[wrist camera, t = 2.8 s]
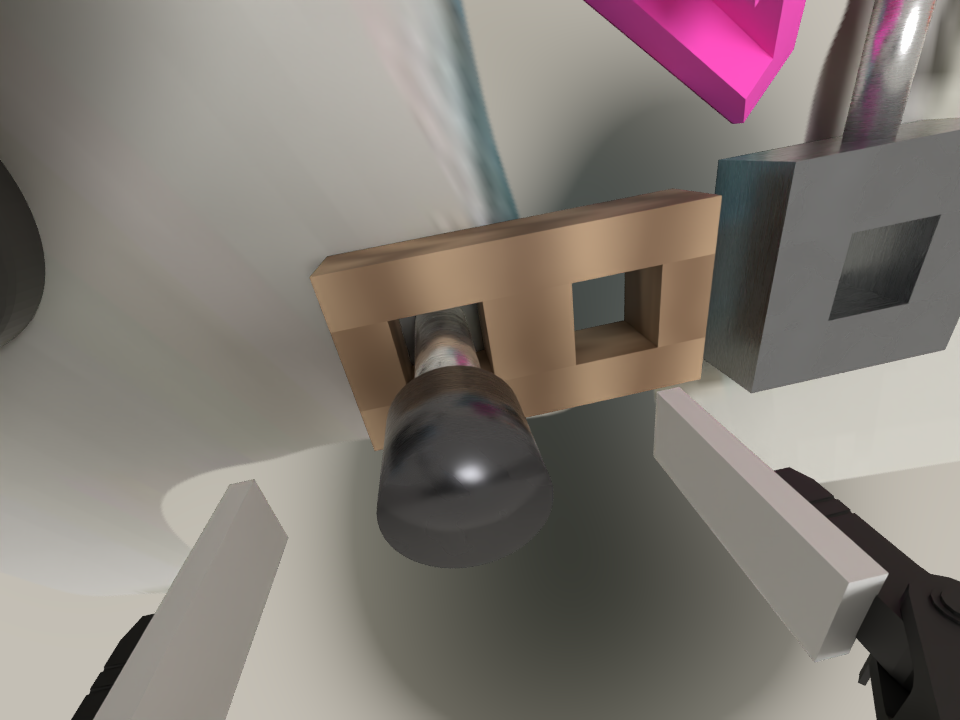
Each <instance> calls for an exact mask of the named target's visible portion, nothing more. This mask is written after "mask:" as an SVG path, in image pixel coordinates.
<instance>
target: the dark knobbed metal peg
mask: <svg viewBox="0 0 960 720" xmlns="http://www.w3.org/2000/svg"><path fill="white" fill-rule="evenodd" d="M552 504H553V485H552V481H551V479H550V476H549V474H548V471H547V469H546V467H545V464H544V461H543V459H542V457H541V454H540V452H539V449H538V447H537V445H536V442H535V440H534V437H533V435H532V432H531V430H530V428H529V425H528V423H527V420H526V418H525V415H524V413H523V411H522V408H521V406H520V403H519V401H518V398H517V396H516V395H515V393H514V391H513V390H512V389H511V387H510V386H509V385H508V384H507V383H506V382H505V381H504V380H503V379H501V378H500V377H498V376H497V375H495V374H493V373H491V372H489V371H487V370H484V369H481V368H480V364H479V361H478V358H477V354H476V351H475V348H474V344H473V341H472V338H471V334H470V331H469V328H468V324H467V321H466V318H465V315H464V312H463V311H462V309H461V308H460V307H454V308H449V309H444V310H439V311H434V312H430V313H425V314H420V315H416V319H415V378H414V379H413V380H411V381H410V382H409V383H407V384H406V385H405V386H404V387H403V388H402V389H401V390H400V391H399V393H398V394H397V395H396V396H395V398H394V400H393V401H392V403H391V406H390V408H389V411H388V415H387V420H386V429H385V439H384V448H383V458H382V467H381V475H380V485H379V493H378V502H377V521H378V525H379V528H380V530H381V532H382V534H383V536H384V538H385V539H386V541H387V542H388V543H389V544H390V545H391V546H392V547H393V548H394V549H395V550H396V551H398V552H399V553H400V554H402V555H403V556H405V557H407V558H409V559H411V560H413V561H416V562H418V563H421V564H425V565H429V566H434V567H440V568H466V567H473V566H479V565H483V564H487V563H490V562H493V561H496V560H499V559H501V558H503V557H505V556H508V555H510V554H512V553H513V552H515V551H517V550H518V549H520V548H521V547H522V546H524V545H525V544H527V543H528V542H529V541H530V540H531V539H532V538H533V537H534V536H535V535H536V534H537V533H538V532H539V530H541V528H542V527H543V525H544V524H545V522H546V520H547V518H548V516H549V514H550V511H551V508H552Z"/></svg>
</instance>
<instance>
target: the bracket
mask: <svg viewBox="0 0 960 720" xmlns="http://www.w3.org/2000/svg"><path fill="white" fill-rule="evenodd" d="M583 1H584V2H586V3H587V4H588V5H589V6H590V7H591V8H593V9H594V10H595V11H596V12H598V13H599V14H600V15H601V16H602V17H604V18H605V19H606V20H607V21H609V22H610V23H611V24H612V25H613V26H614V27H616V28H617V29H618V30H619V31H620V32H622V33H623V34H624V35H625V36H626V37H628V38H629V39H630V40H631V41H632V42H634V43H635V44H636V45H637V46H639V47H640V48H641V49H642V50H643V51H644V52H646V53H647V54H648V55H649V56H651V57H652V58H653V59H654V60H655V61H657V62H658V63H659V64H660V65H661V66H663V67H664V68H665V69H666V70H667V71H669V72H670V73H671V74H672V75H673V76H675V77H676V78H677V79H678V80H680V81H681V82H682V83H683V84H684V85H685V86H687V87H688V88H689V89H690V90H692V91H693V92H694V93H695V94H696V95H697V96H699V97H700V98H701V99H702V100H704V101H705V102H706V103H707V104H708V105H710V106H711V107H712V108H713V109H714V110H716V111H717V112H718V113H719V114H721V115H722V116H723V117H724V118H725V119H727V120H728V121H729V122H730V123H731V124H737V123H744V121H745V120H746V118H747V117H748V115H749V114H750V112H751V111H752V110H753V108H754V107H755V105H756V104H757V102H758V101H759V99H760V98H761V96H762V95H763V94H764V92H765V91H766V89H767V88H768V86H769V85H770V83H771V81H772V80H773V79H774V77H775V76H776V75H777V73H778V72H779V70H780V69H781V67H782V66H783V64H784V63H785V61H786V60H787V58H788V57H789V55H790V54H791V52H792V51H793V49H794V46H795V42H796V38H797V34H798V30H799V25H800V22H801V18H802V14H803V10H804V6H805V2H806V0H583Z"/></svg>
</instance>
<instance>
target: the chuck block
mask: <svg viewBox="0 0 960 720" xmlns="http://www.w3.org/2000/svg"><path fill="white" fill-rule="evenodd" d="M935 4H936V0H875V2H874V6H873V10H872V14H871V19H870V23H869V27H868V31H867V35H866V40H865V44H864V48H863V52H862V56H861V61H860V65H859V69H858V73H857V78H856V82H855V86H854V90H853V94H852V99H851V103H850V107H849V111H848V116H847V120H846V124H845V128H844V132H843V136H839V137H834V138H829V139H824V140H819V141H813V142H808V143H803V144H798V145H793V146H788V147H783V148H778V149H772V150H767V151H762V152H757V153H752V154H746V155H741V156H736V157H731V158H726V159H721V160H718V170H717V179H716V187H715V194H716V195H722V200H721V209H720V217H719V226H718V234H717V243H716V251H715V260H714V268H713V276H712V285H711V293H710V302H709V310H708V319H707V327H706V336H705V344H704V353H703V359H704V360H706V361H707V362H708V363H710V364H711V365H713V366H714V367H715V368H717V369H718V370H720V371H721V372H722V373H724V374H725V375H727V376H728V377H729V378H731V379H732V380H734V381H735V382H736V383H738V384H739V385H740V386H742V387H743V388H745V389H746V390H747V391H749V392H750V393H755V392H759V391H763V390H768V389H772V388H777V387H781V386H786V385H790V384H795V383H799V382H803V381H808V380H812V379H817V378H821V377H826V376H830V375H835V374H839V373H844V372H848V371H852V370H857V369H861V368H866V367H870V366H875V365H879V364H884V363H888V362H892V361H897V360H901V359H906V358H910V357H915V356H919V355H924V354H928V353H933V352H937V351H941V350H945V349H946V346H947V344H948V342H949V340H950V337H951V335H952V333H953V331H954V328H955V326H956V324H957V322H958V319H959V317H960V118H947V119H931V120H921V121H916V122H911V123H906V124H901V125H900V123H901V120H902V116H903V113H904V110H905V106H906V103H907V99H908V96H909V92H910V89H911V86H912V82H913V79H914V75H915V72H916V69H917V65H918V62H919V58H920V55H921V52H922V48H923V45H924V41H925V38H926V35H927V31H928V28H929V24H930V21H931V18H932V14H933V11H934V7H935Z"/></svg>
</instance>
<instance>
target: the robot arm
mask: <svg viewBox="0 0 960 720" xmlns="http://www.w3.org/2000/svg"><path fill="white" fill-rule="evenodd" d="M44 284H45V259H44V252H43V247H42V242H41V238H40V235H39V231H38V228H37V225H36V223H35V220H34V218H33V215H32V213H31V211H30V208H29V206H28V204H27V202H26V200H25V198H24V196H23V195H22V193H21V191H20V189H19V187H18V186H17V184H16V182H15V181H14V179H13V178H12V176H11V174H10V173H9V172H8V170H7V169H6V167H5V166H4V164H3V163H2V162H1V160H0V347H1V346H2V345H4V344H6V343H7V342H9V341H10V340H12V339H13V338H14V337H16V336H17V335H18V334H19V333H20V332H21V331H22V330H23V329H24V328H25V327H26V326H27V325H28V323H29V322H30V321H31V319H32V318H33V316H34V314H35V313H36V311H37V309H38V306H39V304H40V301H41V298H42V295H43V290H44ZM653 456H654V457H655V458H656V460H657V461H658V462H659V464H660V465H661V466H662V467H663V469H664V470H665V471H666V472H667V474H668V475H669V476H670V478H671V479H672V480H673V482H674V483H675V484H676V485H677V487H678V488H679V489H680V491H681V492H682V493H683V494H684V496H685V497H686V498H687V499H688V501H689V502H690V503H691V505H692V506H693V507H694V508H695V510H696V511H697V512H698V513H699V515H700V516H701V517H702V519H703V520H704V521H705V523H706V524H707V525H708V526H709V528H710V529H711V530H712V532H713V533H714V534H715V535H716V536H717V538H718V539H719V540H720V542H721V543H722V544H723V545H724V547H725V548H726V550H728V552H729V553H730V555H731V556H732V557H733V558H734V560H735V561H736V562H737V564H738V565H739V566H740V567H741V569H742V570H743V571H744V572H745V574H746V575H747V576H748V578H749V579H750V580H751V582H752V583H753V584H754V585H755V587H756V588H757V589H758V591H759V592H760V593H761V594H762V596H763V597H764V598H765V600H766V601H767V602H768V603H769V605H770V606H771V607H772V609H773V610H774V611H775V612H776V614H777V615H778V616H779V617H780V619H781V620H782V621H783V623H784V624H785V625H786V626H787V628H788V629H789V630H790V632H791V633H792V634H793V635H794V637H795V638H796V639H797V641H798V642H799V643H800V644H801V645H802V647H803V648H804V649H805V651H806V652H807V653H808V654H809V656H810V657H811V659H812V660H813V661H814V662H818V661H821V660H825V659H829V658H833V657H838V656H842V655H846V654H848V653H849V652H850V650H851V647H852V645H853V644H854V642H855V639H856V638H857V639H858V640H859V641H860V642H861V644H862V645H863V646H864V647H865V648H866V649H867V650H868V651H869V652H870V655H869V657H868V658H867V660H866V662H865V664H864V666H863V668H862V669H861V671H860V674H859V681H858V683H860V684H862V685H866V684H867V682H868V680H869V678H870V677H871V684H872V691H873V697H874V704H875V711H876V718H877V720H960V581H957V580H954V579H952V578H949V577H944V576H938V575H933V574H930V573H928V572H927V571H926V570H924V569H923V568H921V567H920V566H919V565H917V564H916V563H915V562H914V561H912V560H911V559H910V558H909V557H908V556H906V555H905V554H904V553H903V552H901V551H900V550H899V549H898V548H897V547H895V546H894V545H893V544H892V543H890V542H889V541H888V540H887V539H886V538H884V537H883V536H882V535H881V534H879V533H878V532H877V531H876V530H875V529H873V528H872V527H871V526H870V525H869V524H867V523H866V522H865V521H864V520H862V519H861V518H860V517H859V516H858V515H856V514H855V513H851V511H850V509H849V508H848V507H847V506H845V505H844V504H843V503H842V502H840V501H839V500H838V499H835V498H834V496H833V495H832V494H831V493H829V492H828V491H827V490H826V489H824V488H823V487H822V486H821V485H820V484H819V483H817V482H816V481H815V480H814V479H812V478H810V477H808V476H806V475H804V474H802V473H800V472H798V471H796V470H794V469H792V468H790V467H788V468H784V469H779V470H775V471H773V470H772V469H771V468H770V467H769V466H768V465H766V464H765V463H764V462H763V461H762V460H761V459H760V458H759V457H757V456H756V455H755V454H754V453H753V452H752V451H751V450H750V449H748V448H747V447H746V446H745V445H744V444H743V443H742V442H741V441H739V440H738V439H737V438H736V437H735V436H734V435H733V434H732V433H730V432H729V431H728V430H727V429H726V428H725V427H724V426H723V425H721V424H720V423H719V422H718V421H717V420H716V419H715V418H714V417H712V416H711V415H710V414H709V413H708V412H707V411H706V410H705V409H703V408H702V407H701V406H700V405H699V404H698V403H697V402H696V401H694V400H693V399H692V398H691V397H690V396H689V395H688V394H687V393H685V392H684V391H683V390H682V389H681V388H680V387H677V388H672V389H668V390H663V391H658V392H657V397H656V417H655V436H654V455H653ZM287 540H288V536H287V535H286V533H285V531H284V530H283V528H282V526H281V524H280V523H279V521H278V519H277V517H276V516H275V514H274V512H273V511H272V509H271V507H270V505H269V504H268V502H267V500H266V498H265V497H264V495H263V493H262V492H261V490H260V488H259V486H258V485H257V483H256V482H255V480H254V479H253V480H249V481H244V482H239V483H235V484H230V485H229V487H228V489H227V490H226V492H225V494H224V496H223V497H222V499H221V501H220V503H219V504H218V506H217V507H216V509H215V511H214V513H213V515H212V516H211V518H210V519H209V521H208V523H207V525H206V526H205V528H204V530H203V532H202V533H201V535H200V537H199V539H198V540H197V542H196V544H195V546H194V547H193V549H192V550H191V552H190V554H189V556H188V557H187V559H186V561H185V563H184V564H183V566H182V568H181V569H180V571H179V573H178V575H177V576H176V578H175V580H174V581H173V583H172V585H171V587H170V588H169V590H168V592H167V593H166V595H165V597H164V599H163V600H162V602H161V604H160V606H159V607H158V609H157V611H156V612H155V614H151V615H146V616H142V618H141V619H140V620H139V621H138V622H137V623H136V624H135V625H134V626H133V627H132V628H131V630H130V631H129V632H128V633H127V634H126V635H125V636H124V637H123V638H122V639H121V640H120V642H119V643H118V645H117V647H116V648H115V650H114V651H113V653H112V655H111V656H110V658H109V660H108V661H107V663H106V664H105V666H104V671H103V672H101V673H100V674H99V676H98V677H97V679H96V680H95V682H94V684H93V685H92V687H91V689H90V694H89V695H86V697H85V698H84V700H83V701H82V703H81V705H80V706H79V708H78V710H77V711H76V713H75V714H74V716H73V718H72V719H71V720H225V719H226V716H227V713H228V710H229V707H230V705H231V702H232V699H233V696H234V693H235V690H236V687H237V684H238V681H239V678H240V676H241V673H242V670H243V667H244V664H245V661H246V658H247V655H248V652H249V650H250V647H251V644H252V641H253V638H254V635H255V632H256V630H257V627H258V624H259V621H260V618H261V615H262V612H263V609H264V606H265V604H266V601H267V598H268V595H269V592H270V589H271V586H272V583H273V580H274V578H275V575H276V572H277V569H278V566H279V563H280V560H281V557H282V554H283V552H284V549H285V546H286V543H287Z"/></svg>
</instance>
